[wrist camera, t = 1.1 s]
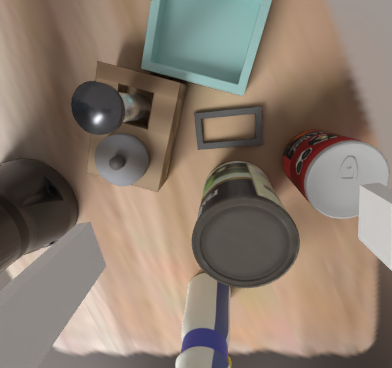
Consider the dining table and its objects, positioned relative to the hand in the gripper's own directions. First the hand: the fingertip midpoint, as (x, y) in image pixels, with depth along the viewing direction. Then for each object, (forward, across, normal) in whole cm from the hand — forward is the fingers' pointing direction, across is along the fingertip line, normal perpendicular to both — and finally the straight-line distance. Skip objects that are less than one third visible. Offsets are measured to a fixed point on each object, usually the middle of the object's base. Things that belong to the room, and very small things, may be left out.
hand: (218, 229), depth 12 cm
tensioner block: (+24, -10, +4) cm, 27 cm away
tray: (+24, +1, +14) cm, 28 cm away
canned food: (+24, +12, -4) cm, 27 cm away
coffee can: (+24, +2, -8) cm, 25 cm away
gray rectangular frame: (+24, +2, +2) cm, 24 cm away
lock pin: (+22, -9, +7) cm, 25 cm away
